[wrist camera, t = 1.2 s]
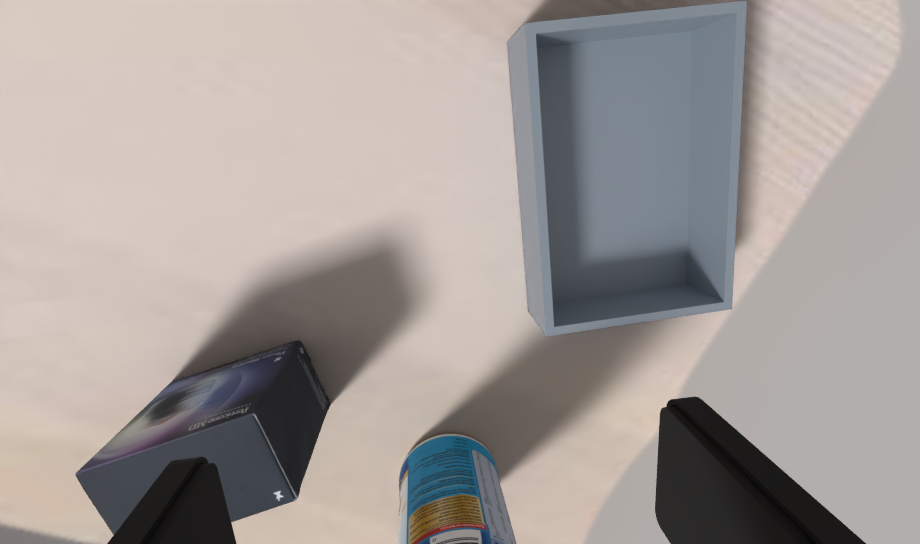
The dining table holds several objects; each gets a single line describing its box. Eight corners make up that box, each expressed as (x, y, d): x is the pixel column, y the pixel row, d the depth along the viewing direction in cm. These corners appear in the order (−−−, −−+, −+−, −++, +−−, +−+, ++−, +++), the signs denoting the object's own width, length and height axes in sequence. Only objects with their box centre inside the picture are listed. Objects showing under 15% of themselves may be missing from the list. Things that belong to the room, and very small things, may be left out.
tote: (507, 42, 31) (524, 23, 26) (696, 22, 32) (747, 0, 27) (528, 311, 36) (545, 336, 31) (690, 287, 37) (731, 309, 32)
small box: (300, 332, 35) (255, 409, 25) (333, 405, 37) (304, 503, 27) (165, 378, 35) (65, 474, 25) (205, 449, 37) (127, 564, 27)
